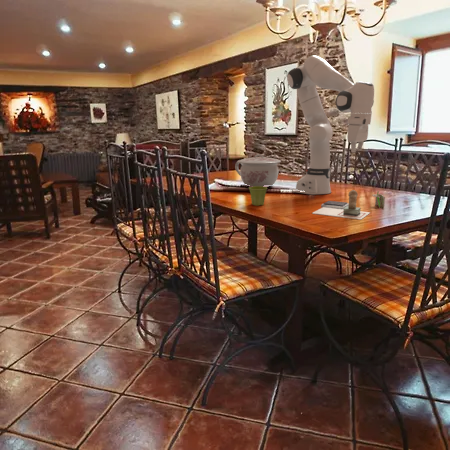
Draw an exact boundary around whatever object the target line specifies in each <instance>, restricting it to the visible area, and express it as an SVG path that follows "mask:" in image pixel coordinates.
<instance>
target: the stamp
mask: <svg viewBox="0 0 450 450" xmlns="http://www.w3.org/2000/svg"><path fill="white" fill-rule="evenodd" d="M358 194H359V193H358V191H356V190H354V189H353V190H350V191H349V192H348V203H349V206H347V207H345V208H344V210H343V215H351V216H358V215H359V214H360V211H361V210H362V209H361V207H358V206H357V200H358Z"/></svg>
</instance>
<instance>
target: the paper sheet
mask: <svg viewBox="0 0 450 450" xmlns="http://www.w3.org/2000/svg"><path fill="white" fill-rule="evenodd" d="M343 210H344V209H336V208H327V207H320V208H318V209H317V210H315V211H313V212H311V213H312V214H313V215H319V216H329V217H336V218H344V219H353V220H360V221H362V220H363V219H365V218H366V217H367V216H368V215H370V214H371V212H368V211H362V210H360V214H359V215H358V216H351V215H343Z"/></svg>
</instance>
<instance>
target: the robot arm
mask: <svg viewBox="0 0 450 450" xmlns="http://www.w3.org/2000/svg"><path fill="white" fill-rule="evenodd" d="M303 63H304V64H302V65H301V64H300V66H297V67H295V68H292V69H291V70H289V71H288V73H287V75H286V80H287V83H288V86H289V87H290V88H291V89H292V90H296V94H297V98H298V102H299V105H300V108H301V111H302V114H303V116H304V119H305V121H306V123H307V125H308V126H309V128H310V129H309V133H308V135H309V136H308V137H309V151H310V152H309V155H310V159H309V167H308V168H307V169H305V172H306V174H305V175H304V176H302V177H301V178H300V179H298V180H297V182H296V184H295V188H296V189H298V190H304V191H305V192H300V191H293V190H295V189H294V188H293V190H291V192H293V193H299V194H306V195H326V194H327V195H328V194H331V193H332V189H331V184H330V181H331V180H330V178H331V168H330V167H331V146H330V143H331V141H330V140H332V137H333V134H334V130H333V128H332V125H331V122H330V120H329V118H328V115H327V113H326V112H325V109H324V106H323V103H322V101H321V97H320V95H319V91H318V90H317V87H318V88H320V89H324V90H331V91H337V92H338V94H337V95H336V99H335V107H336V108H337V110H338V111H339V112H342V113H343V112H344V113H350V115H349V118H348V119H347V125H348V126H347V142H348V143H350V148H351V149H350V152H351V153H353V154H354V153H357V151H358V152H360V151H361V152H362V150H363V145H364V141H367V140H368V137H369V126H370V125H371V121H372V114H373V113H372V109H373V108H372V107H373V106H374V102H375V101H374V100H375V99H374V98H375V86H374V84H373V83H372V82H368V81H357V82H355V83H354V82H353V81H351V80H350V79H349V78H347V77H346V76H344V75H343V74H342V73H340V72H339V71H338V70H336V69H335V68H334V67H333V66H332V65H331V64H329V62H327V60H325V59H324V58H322V57H320V56H319V55H316V54H315V55H310V56H309V57H307V58H306V59H305V61H304V62H303Z"/></svg>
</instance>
